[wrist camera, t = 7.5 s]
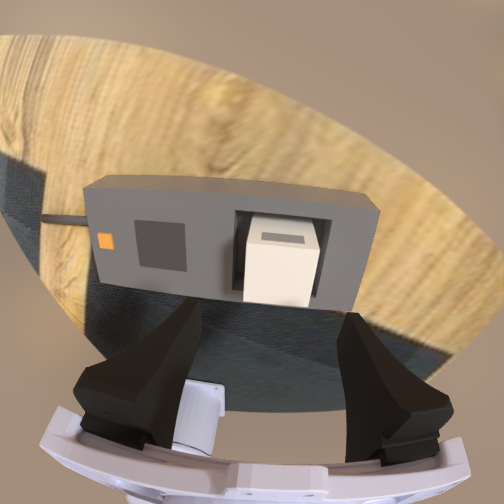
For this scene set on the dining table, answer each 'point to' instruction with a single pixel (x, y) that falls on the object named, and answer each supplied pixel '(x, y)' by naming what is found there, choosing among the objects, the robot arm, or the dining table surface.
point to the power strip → (218, 234)
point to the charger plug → (280, 259)
